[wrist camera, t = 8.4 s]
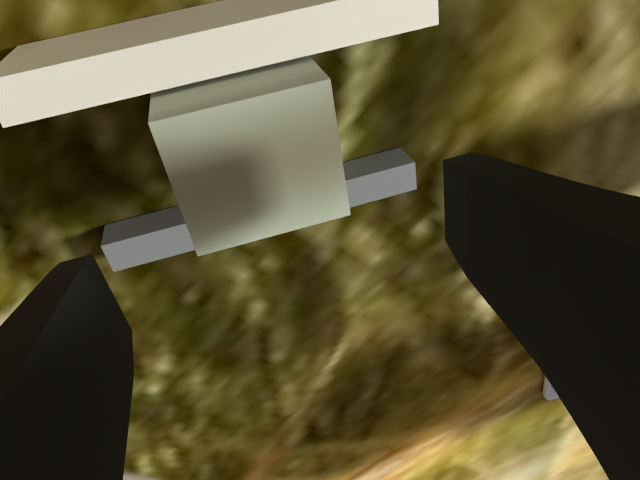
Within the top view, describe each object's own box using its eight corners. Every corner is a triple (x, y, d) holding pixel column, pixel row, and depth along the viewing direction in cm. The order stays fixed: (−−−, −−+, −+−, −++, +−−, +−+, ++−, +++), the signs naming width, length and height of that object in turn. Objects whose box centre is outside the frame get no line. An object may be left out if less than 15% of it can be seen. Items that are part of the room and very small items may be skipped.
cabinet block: (306, 138, 20) (350, 214, 15) (190, 167, 19) (197, 256, 14) (285, 30, 17) (330, 78, 13) (154, 60, 17) (147, 123, 12)
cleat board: (402, 173, 22) (443, 220, 18) (117, 249, 20) (106, 315, 17) (386, -36, 17) (437, -23, 14) (17, 45, 16) (-22, 82, 13)
